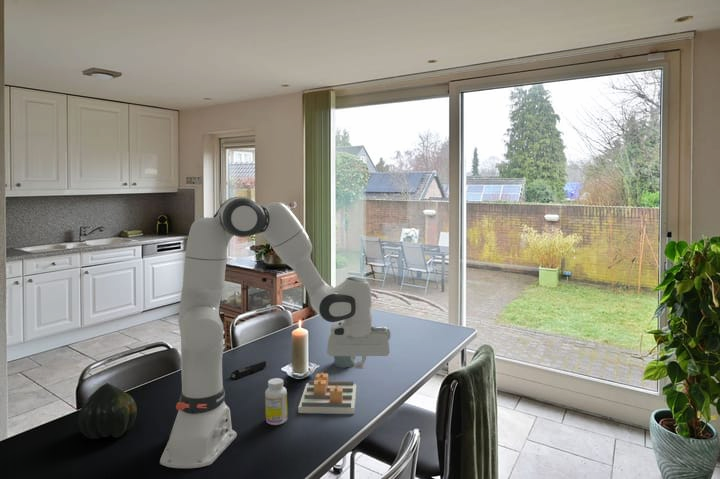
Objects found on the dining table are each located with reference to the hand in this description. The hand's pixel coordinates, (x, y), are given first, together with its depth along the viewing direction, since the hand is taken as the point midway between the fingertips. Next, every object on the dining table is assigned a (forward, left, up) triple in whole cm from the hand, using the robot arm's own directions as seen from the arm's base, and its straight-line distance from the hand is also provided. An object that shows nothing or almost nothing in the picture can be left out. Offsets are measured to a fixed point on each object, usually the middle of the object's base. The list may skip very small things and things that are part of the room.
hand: (358, 368), depth 148 cm
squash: (-18, +73, -14) cm, 77 cm away
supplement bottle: (-9, +25, -14) cm, 30 cm away
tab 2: (+5, +13, -12) cm, 18 cm away
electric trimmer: (+28, +44, -14) cm, 54 cm away
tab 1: (+11, +13, -12) cm, 21 cm away
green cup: (+38, +7, -14) cm, 42 cm away
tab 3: (0, +7, -12) cm, 14 cm away
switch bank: (+5, +10, -14) cm, 18 cm away
